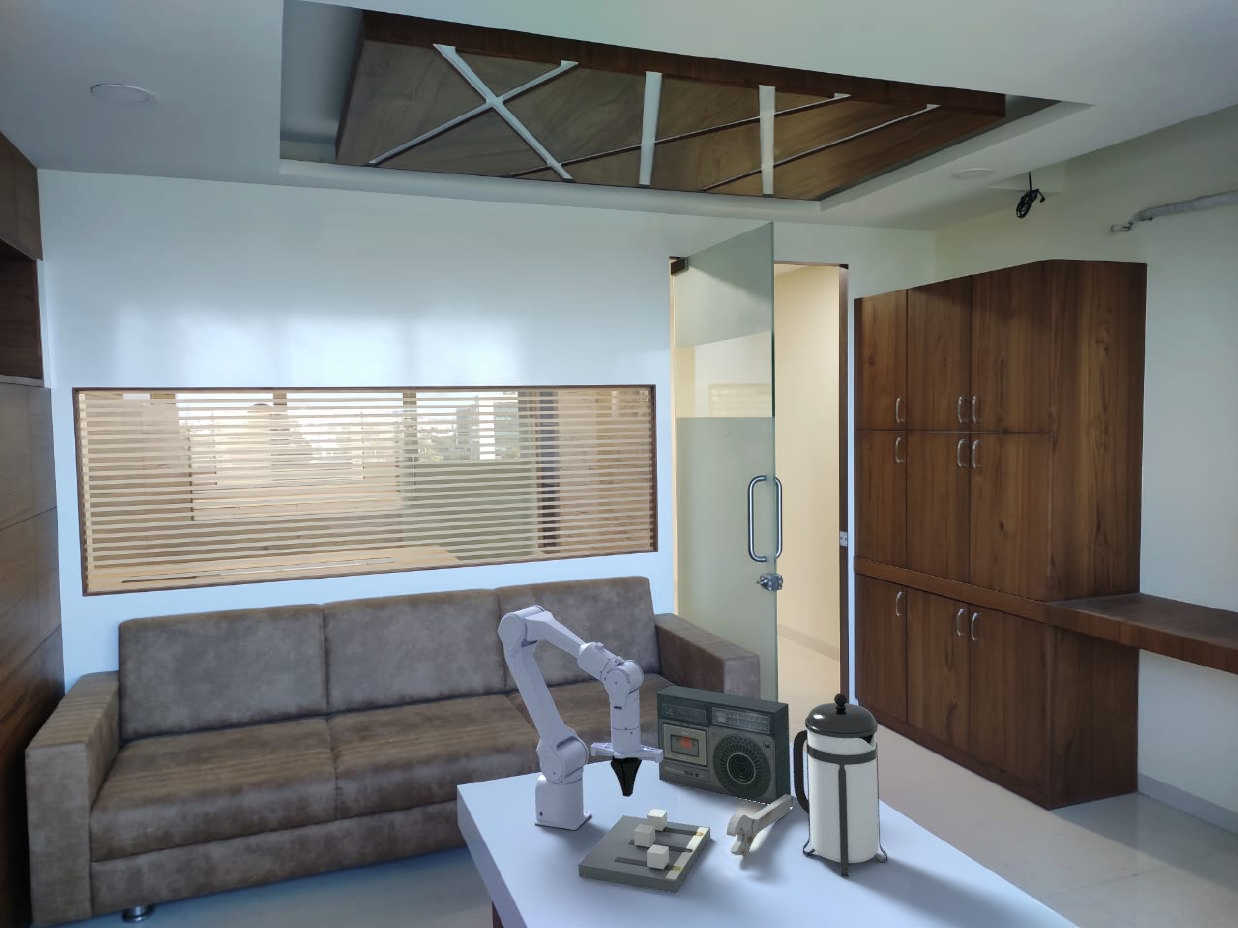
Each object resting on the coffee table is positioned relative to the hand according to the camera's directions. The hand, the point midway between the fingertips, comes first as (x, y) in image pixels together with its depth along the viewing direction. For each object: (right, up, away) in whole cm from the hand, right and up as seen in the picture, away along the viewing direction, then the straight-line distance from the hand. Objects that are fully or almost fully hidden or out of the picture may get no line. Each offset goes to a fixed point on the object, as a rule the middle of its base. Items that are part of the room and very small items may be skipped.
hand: (627, 794), depth 167 cm
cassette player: (+21, -7, +22) cm, 31 cm away
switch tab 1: (+6, -5, -2) cm, 8 cm away
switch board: (+4, -8, -9) cm, 12 cm away
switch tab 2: (+5, -6, -17) cm, 19 cm away
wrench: (+26, -8, -1) cm, 27 cm away
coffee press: (+38, -7, -11) cm, 40 cm away
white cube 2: (+3, -6, -9) cm, 11 cm away
